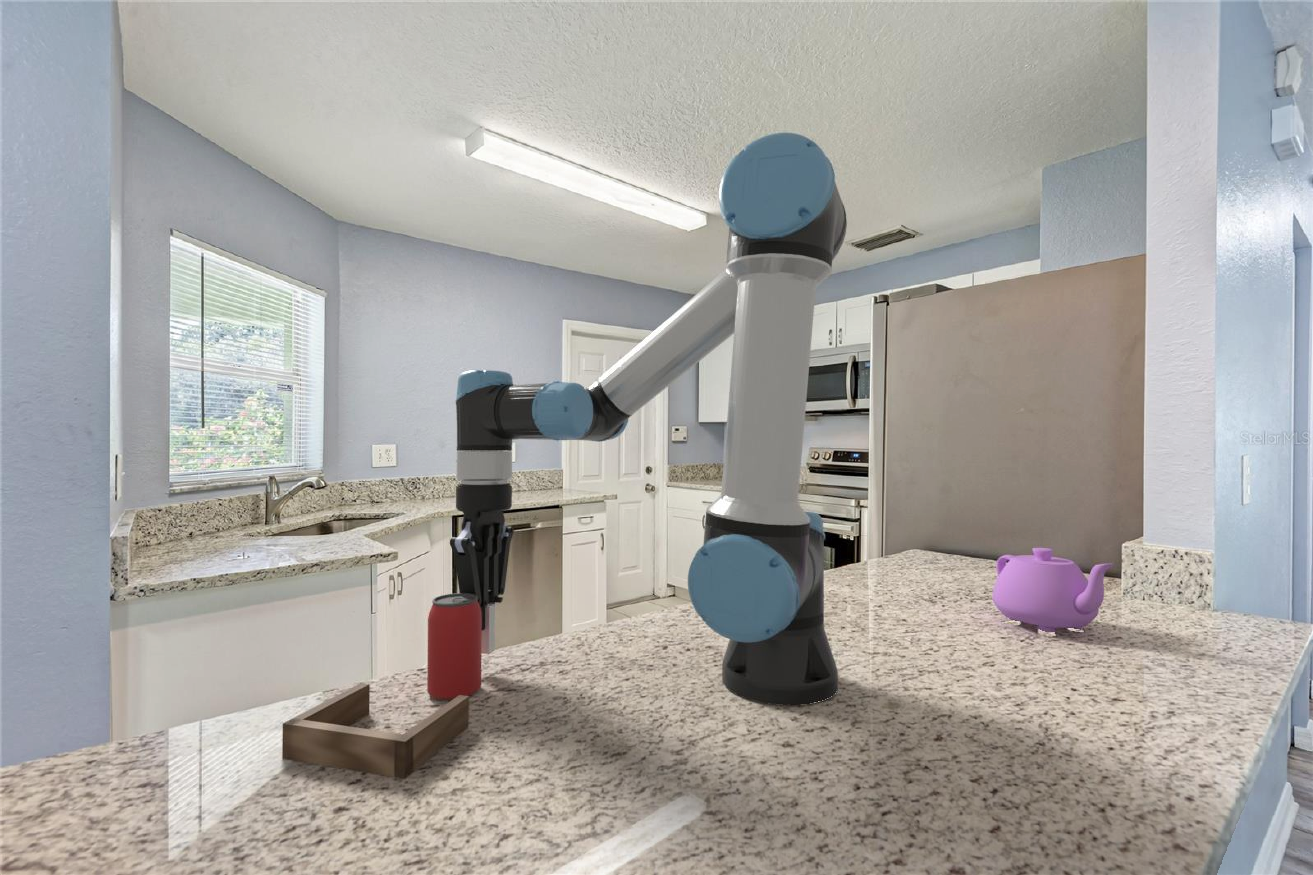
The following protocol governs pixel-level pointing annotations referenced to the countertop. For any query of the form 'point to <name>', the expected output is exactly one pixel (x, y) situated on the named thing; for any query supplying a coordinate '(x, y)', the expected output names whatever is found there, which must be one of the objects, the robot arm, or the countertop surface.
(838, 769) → the countertop surface
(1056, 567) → the teapot
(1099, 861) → the countertop surface
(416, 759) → the walnut bay
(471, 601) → the beer can
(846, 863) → the countertop surface
